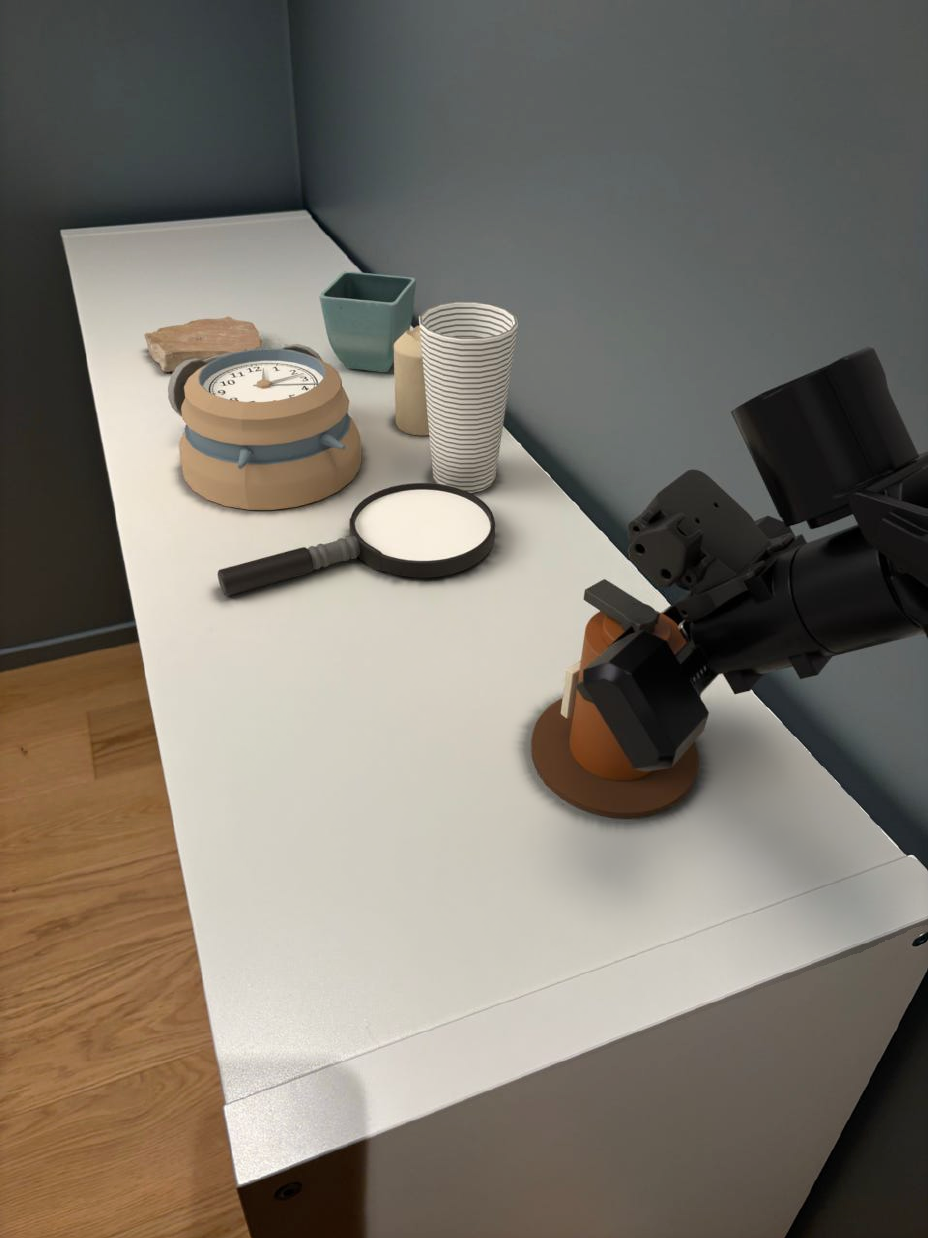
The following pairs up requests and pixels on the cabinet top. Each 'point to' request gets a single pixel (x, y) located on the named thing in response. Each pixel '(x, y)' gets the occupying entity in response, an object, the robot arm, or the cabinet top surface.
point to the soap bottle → (615, 617)
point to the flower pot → (367, 317)
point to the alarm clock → (264, 428)
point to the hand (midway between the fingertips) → (609, 664)
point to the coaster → (601, 793)
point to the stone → (201, 340)
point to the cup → (466, 388)
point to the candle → (410, 384)
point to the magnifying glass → (389, 538)
